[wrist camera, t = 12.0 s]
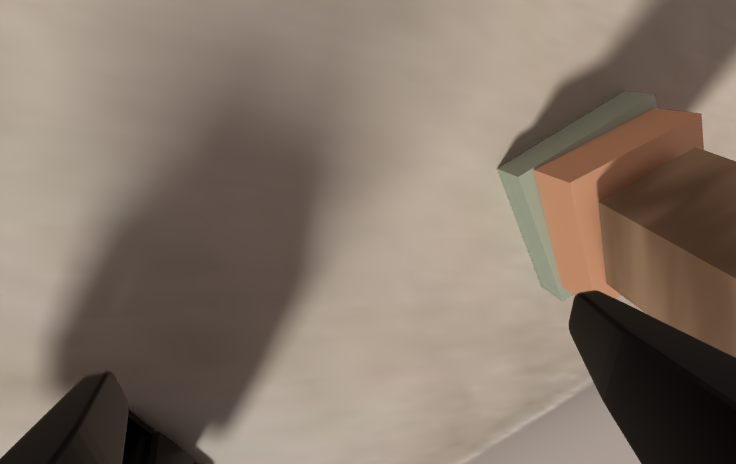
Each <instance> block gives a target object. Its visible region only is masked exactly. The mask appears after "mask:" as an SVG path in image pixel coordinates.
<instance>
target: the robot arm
mask: <svg viewBox="0 0 736 464" xmlns="http://www.w3.org/2000/svg"><path fill="white" fill-rule="evenodd" d="M569 330H570V334H571V336H572V338H573V340H574V342H575V344H576V346H577V349H578V351H579V353H580V355H581V357H582V359H583V361H584V363H585V365H586V367H587V369H588V371H589V373H590V376H591V378H592V380H593V382H594V384H595V386H596V388H597V390H598V392H599V394H600V396H601V398H602V400H603V402H604V403H605V405H606V407H607V408H608V410H609V412H610V413H611V415H612V417H613V418H614V420H615V421H616V423H617V425H618V426H619V428H620V430H621V431H622V433H623V434H624V436H625V438H626V439H627V441H628V443H629V444H630V446H631V447H632V449H633V451H634V452H635V454H636V455H637V457H638V459H639V460H640V462H641V464H736V357H734V356H732V355H730V354H728V353H725V352H723V351H721V350H719V349H717V348H715V347H713V346H711V345H709V344H707V343H705V342H703V341H701V340H699V339H697V338H695V337H693V336H691V335H689V334H686V333H684V332H682V331H680V330H678V329H676V328H674V327H672V326H670V325H668V324H666V323H664V322H662V321H660V320H658V319H656V318H654V317H652V316H650V315H648V314H645V313H643V312H641V311H639V310H637V309H635V308H633V307H631V306H629V305H627V304H625V303H623V302H621V301H619V300H617V299H615V298H613V297H611V296H609V295H607V294H604V293H602V292H600V291H597V290H592V291H586V292H580V293H578V294H576V296H575V297H574V301H573V306H572V310H571V315H570V319H569ZM0 464H196V463H195V462H194V459H193V458H192V457H191V456H190V455H188V454H187V453H186V452H185V451H183V450H182V449H181V448H180V447H178V446H177V445H176V444H174V443H173V442H172V441H171V440H169V439H168V438H167V437H166V436H164V435H163V434H162V433H160V432H156V431H155V430H153V429H152V428H151V427H150V426H148V425H147V424H146V423H145V422H143V421H142V420H141V419H140V418H138V417H137V416H136V415H134V414H133V413H132V412H131V411H129V410H128V402H127V399H126V397H125V395H124V393H123V391H122V389H121V387H120V385H119V383H118V381H117V379H116V377H115V375H114V374H113V373H112V372H110V371H105V372H99V373H93V374H88V375H86V376H85V377H83V378H82V379H81V380H80V381H79V382H78V383H77V384H76V385H75V386H74V387H73V388H72V389H71V390H70V391H69V392H68V393H67V394H66V395H65V396H64V397H63V398H62V399H61V400H60V401H59V402H58V403H57V404H56V405H55V406H54V407H53V408H52V409H50V410H49V411H48V412H47V413H46V414H45V415H44V416H43V417H42V418H41V419H40V420H39V421H38V422H37V423H36V424H35V425H34V426H33V427H32V428H31V429H30V430H29V431H28V432H27V433H26V434H25V435H24V436H23V437H22V438H21V439H20V440H19V441H18V442H17V443H16V444H15V445H14V446H13V447H12V448H11V449H10V450H9V451H8V452H7V453H6V454H5V455H4V456H3V457H2V458H1V459H0Z"/></svg>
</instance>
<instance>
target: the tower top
mask: <svg viewBox="0 0 736 464" xmlns="http://www.w3.org/2000/svg"><path fill="white" fill-rule="evenodd" d="M695 147H696V148H699V149H702V150H704V146H703V132H702V117H701V114H700V113H692V112H683V111H675V110H667V109H659V108H653V109H651V110H649V111H647V112H645V113H643V114H642V115H640V116H638V117H636V118H634V119H632V120H630V121H628V122H626V123H624V124H622V125H620V126H618V127H616V128H614V129H612V130H610V131H609V132H607V133H605V134H603V135H601V136H599V137H597V138H595V139H593V140H591V141H589V142H587V143H585V144H583V145H581V146H579V147H578V148H576V149H574V150H572V151H570V152H568V153H566V154H564V155H562V156H560V157H558V158H556V159H554V160H552V161H550V162H548V163H546V164H545V165H543V166H541V167H539V168H537V169H535V170H534V173H535V177H536V182H537V186H538V190H539V194H540V198H541V202H542V207H543V211H544V215H545V219H546V223H547V227H548V232H549V236H550V240H551V244H552V248H553V252H554V257H555V261H556V265H557V269H558V273H559V278H560V282H561V286H562V287H563V288H565V289H566V290H568V291H569V292H571V293H572V294H574V295H575V296H576V294H578V293H580V292H586V291H592V290H597V291H600V292H602V293H604V294H607V295H609V296H611V297H613V298H615V297H617V296H619V295H621V294H619V293H618V292H617V291H615V290H614V289H613V288H611V287H610V286H609V285H607V284H606V275H605V264H604V253H603V242H602V231H601V220H600V209H599V202H600V201H602V200H603V199H605V198H607V197H609V196H610V195H612V194H614V193H616V192H617V191H619V190H621V189H623V188H625V187H626V186H628V185H630V184H632V183H633V182H635V181H637V180H639V179H640V178H642V177H644V176H646V175H647V174H649V173H651V172H653V171H654V170H656V169H658V168H660V167H661V166H663V165H665V164H667V163H668V162H670V161H672V160H674V159H675V158H677V157H679V156H681V155H682V154H684V153H686V152H688V151H689V150H691V149H693V148H695Z"/></svg>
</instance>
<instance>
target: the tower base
mask: <svg viewBox="0 0 736 464" xmlns="http://www.w3.org/2000/svg"><path fill="white" fill-rule="evenodd" d="M653 108H658V107H657V101H656V96H655V93H643V92H631V91H624V92H622V93H620V94H619V95H617V96H616V97H614V98H612V99H611V100H609V101H607V102H606V103H604V104H602V105H601V106H599V107H597V108H596V109H594V110H593V111H591V112H589V113H588V114H586V115H584V116H583V117H581V118H579V119H578V120H576V121H574V122H573V123H571V124H570V125H568V126H566V127H565V128H563V129H561V130H560V131H558V132H556V133H555V134H553V135H551V136H550V137H548V138H547V139H545V140H543V141H542V142H540V143H538V144H537V145H535V146H533V147H532V148H530V149H528V150H527V151H525V152H524V153H522V154H520V155H519V156H517V157H515V158H514V159H512V160H510V161H509V162H507V163H505V164H504V165H502V166H501V167H499V168H497V170H498V173H499V176H500V178H501V181H502V184H503V186H504V189H505V192H506V194H507V197H508V200H509V202H510V205H511V208H512V210H513V213H514V216H515V218H516V221H517V224H518V226H519V229H520V232H521V234H522V237H523V240H524V242H525V245H526V248H527V250H528V253H529V256H530V258H531V261H532V264H533V266H534V269H535V272H536V274H537V277H538V280H539V282H540V285H541V287H542V288H544V289H545V290H547V291H548V292H549V293H551V294H552V295H554V296H555V297H557V298H558V299H559V300H561V301H562V302H563V301H565V300H566V299H568V298H569V297H571V296H572V295H574V294H572V293H571V292H569V291H568V290H566V289H565V288H563V287H562V286H561V282H560V278H559V273H558V269H557V265H556V261H555V257H554V252H553V248H552V244H551V240H550V236H549V232H548V227H547V223H546V219H545V215H544V211H543V207H542V202H541V198H540V194H539V190H538V186H537V182H536V177H535V173H534V170H535V169H537V168H539V167H541V166H543V165H545V164H546V163H548V162H550V161H552V160H554V159H556V158H558V157H560V156H562V155H564V154H566V153H568V152H570V151H572V150H574V149H576V148H578V147H579V146H581V145H583V144H585V143H587V142H589V141H591V140H593V139H595V138H597V137H599V136H601V135H603V134H605V133H607V132H609V131H610V130H612V129H614V128H616V127H618V126H620V125H622V124H624V123H626V122H628V121H630V120H632V119H634V118H636V117H638V116H640V115H642V114H643V113H645V112H647V111H649V110H651V109H653Z"/></svg>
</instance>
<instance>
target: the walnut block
mask: <svg viewBox="0 0 736 464" xmlns="http://www.w3.org/2000/svg"><path fill="white" fill-rule="evenodd" d="M599 209H600V220H601V231H602V242H603V253H604V264H605V275H606V284H607V285H609V286H610V287H611V288H613V289H614V290H615V291H617V292H618V293H619V294H621V295H622V296H624V297H625V298H626V299H628V300H629V301H630V302H632V303H633V304H634V305H636V306H637V307H638V308H640V309H641V310H643V311H644V312H645V313H647V314H648V315H650V316H652V317H654V318H656V319H658V320H660V321H662V322H664V323H666V324H668V325H670V326H672V327H674V328H676V329H678V330H680V331H682V332H684V333H686V334H689V335H691V336H693V337H695V338H697V339H699V340H701V341H703V342H705V343H707V344H709V345H711V346H713V347H715V348H717V349H719V350H721V351H723V352H725V353H728V354H730V355H732V356H734V357H736V161H733V160H730V159H727V158H724V157H721V156H719V155H716V154H713V153H710V152H707V151H704V150H702V149H699V148H696V147H695V148H693V149H691V150H689V151H688V152H686V153H684V154H682V155H681V156H679V157H677V158H675V159H674V160H672V161H670V162H668V163H667V164H665V165H663V166H661V167H660V168H658V169H656V170H654V171H653V172H651V173H649V174H647V175H646V176H644V177H642V178H640V179H639V180H637V181H635V182H633V183H632V184H630V185H628V186H626V187H625V188H623V189H621V190H619V191H617V192H616V193H614V194H612V195H610V196H609V197H607V198H605V199H603V200H602V201H600V202H599Z"/></svg>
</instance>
